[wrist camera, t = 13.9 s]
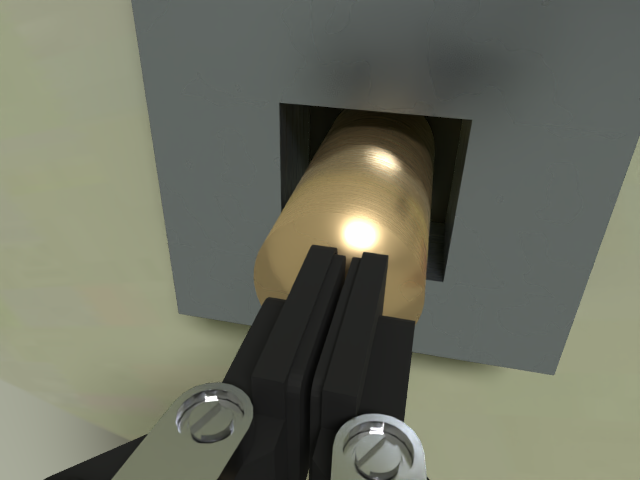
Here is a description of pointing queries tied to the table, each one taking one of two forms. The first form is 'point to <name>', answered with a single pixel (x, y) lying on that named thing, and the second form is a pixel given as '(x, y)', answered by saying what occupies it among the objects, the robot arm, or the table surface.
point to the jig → (406, 98)
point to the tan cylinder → (360, 207)
